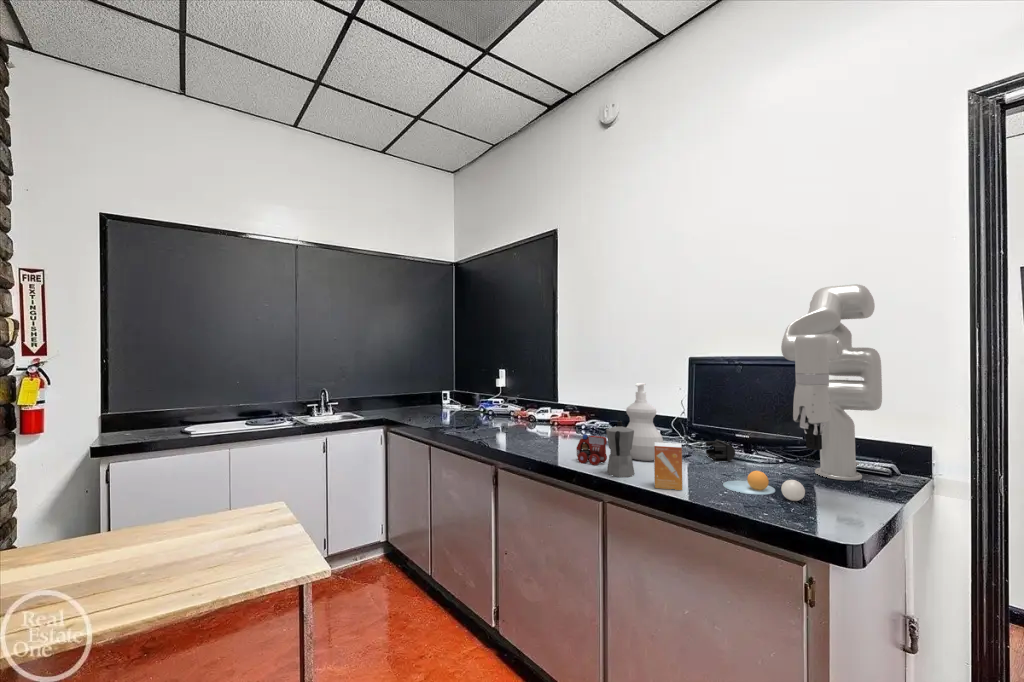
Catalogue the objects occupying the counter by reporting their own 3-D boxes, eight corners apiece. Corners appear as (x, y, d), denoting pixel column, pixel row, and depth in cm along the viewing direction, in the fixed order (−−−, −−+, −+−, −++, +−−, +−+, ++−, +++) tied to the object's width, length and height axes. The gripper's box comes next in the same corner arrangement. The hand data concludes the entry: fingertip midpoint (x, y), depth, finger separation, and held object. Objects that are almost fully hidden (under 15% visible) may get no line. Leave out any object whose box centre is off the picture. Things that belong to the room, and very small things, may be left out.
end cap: (735, 462, 169) (735, 444, 169) (716, 462, 169) (716, 444, 169) (723, 456, 179) (723, 439, 179) (705, 456, 179) (705, 439, 179)
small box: (654, 488, 137) (653, 445, 138) (654, 483, 143) (653, 441, 144) (683, 491, 135) (682, 447, 135) (681, 485, 141) (681, 442, 141)
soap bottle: (615, 458, 177) (614, 383, 177) (627, 453, 186) (626, 381, 186) (657, 464, 166) (656, 384, 167) (668, 459, 175) (667, 382, 176)
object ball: (774, 489, 133) (757, 489, 138) (770, 469, 135) (753, 470, 139) (762, 491, 131) (745, 491, 135) (758, 471, 132) (741, 471, 137)
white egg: (812, 486, 124) (803, 502, 126) (791, 473, 128) (783, 489, 130) (803, 491, 121) (794, 507, 123) (783, 477, 125) (774, 493, 127)
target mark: (741, 478, 147) (741, 478, 147) (785, 490, 135) (785, 489, 135) (713, 485, 140) (713, 484, 140) (756, 497, 128) (756, 496, 128)
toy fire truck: (582, 458, 178) (582, 431, 178) (611, 463, 170) (610, 435, 170) (572, 461, 172) (572, 434, 173) (601, 467, 164) (601, 438, 165)
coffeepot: (609, 468, 162) (608, 417, 163) (636, 470, 159) (635, 418, 160) (602, 479, 148) (602, 424, 148) (632, 482, 144) (631, 425, 145)
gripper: (812, 378, 129) (814, 443, 128) (781, 380, 121) (783, 449, 121) (842, 380, 122) (844, 448, 122) (811, 382, 115) (813, 454, 114)
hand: (814, 448), depth 121 cm, fingers closed
